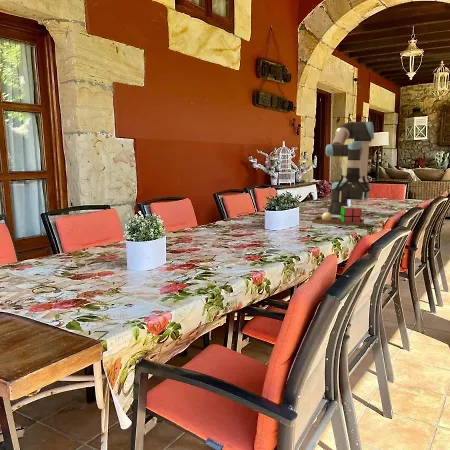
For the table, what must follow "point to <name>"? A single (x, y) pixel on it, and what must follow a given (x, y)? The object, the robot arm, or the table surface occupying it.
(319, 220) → the brown wooden tray
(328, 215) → the ceramic egg
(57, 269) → the table surface
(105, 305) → the table surface
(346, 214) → the puzzle cube
